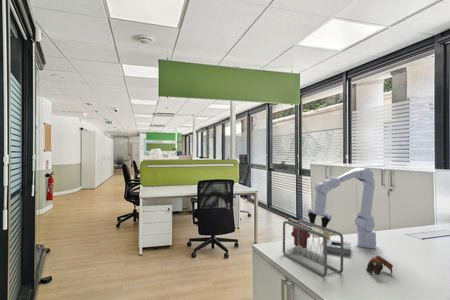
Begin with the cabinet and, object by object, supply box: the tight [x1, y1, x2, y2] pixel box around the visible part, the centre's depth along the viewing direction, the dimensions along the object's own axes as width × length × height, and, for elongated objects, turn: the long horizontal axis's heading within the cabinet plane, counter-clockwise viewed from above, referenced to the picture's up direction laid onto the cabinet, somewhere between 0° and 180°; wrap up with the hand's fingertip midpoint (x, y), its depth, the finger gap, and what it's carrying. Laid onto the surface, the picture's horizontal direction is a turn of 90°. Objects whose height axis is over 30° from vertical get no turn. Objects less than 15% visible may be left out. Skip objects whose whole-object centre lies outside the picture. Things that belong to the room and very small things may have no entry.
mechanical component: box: [290, 224, 311, 249], centre depth 154 cm, size 12×10×10 cm
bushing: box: [322, 231, 331, 244], centre depth 163 cm, size 4×4×7 cm
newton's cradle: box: [282, 218, 344, 278], centre depth 132 cm, size 30×10×18 cm, turn 24°
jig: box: [322, 239, 352, 257], centre depth 150 cm, size 13×11×4 cm
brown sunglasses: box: [366, 254, 394, 276], centre depth 122 cm, size 12×10×8 cm
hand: (317, 228), depth 156 cm, fingers open, 7 cm apart
